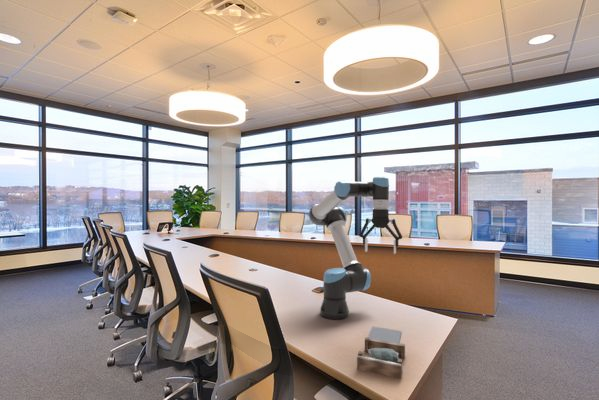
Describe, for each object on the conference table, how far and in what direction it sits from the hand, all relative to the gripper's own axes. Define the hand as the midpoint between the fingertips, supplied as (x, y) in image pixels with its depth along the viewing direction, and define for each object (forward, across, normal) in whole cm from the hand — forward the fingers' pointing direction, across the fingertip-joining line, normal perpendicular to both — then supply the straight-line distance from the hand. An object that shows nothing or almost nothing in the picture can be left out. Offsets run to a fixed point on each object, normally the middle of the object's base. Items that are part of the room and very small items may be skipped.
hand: (380, 252), depth 151 cm
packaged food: (+36, +10, -34) cm, 51 cm away
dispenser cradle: (+35, +6, -36) cm, 50 cm away
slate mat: (+35, +4, -14) cm, 38 cm away
